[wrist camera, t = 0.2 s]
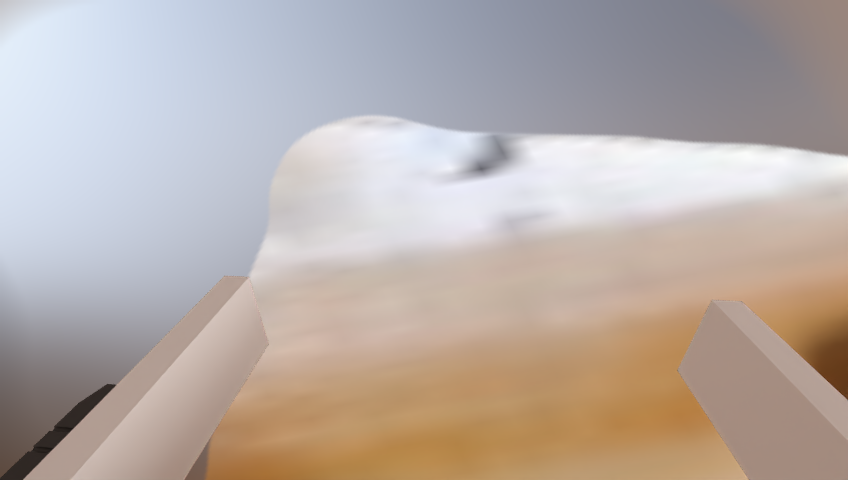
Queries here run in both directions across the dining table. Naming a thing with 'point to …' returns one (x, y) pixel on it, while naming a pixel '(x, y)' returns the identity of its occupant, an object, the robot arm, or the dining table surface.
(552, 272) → the dining table surface
